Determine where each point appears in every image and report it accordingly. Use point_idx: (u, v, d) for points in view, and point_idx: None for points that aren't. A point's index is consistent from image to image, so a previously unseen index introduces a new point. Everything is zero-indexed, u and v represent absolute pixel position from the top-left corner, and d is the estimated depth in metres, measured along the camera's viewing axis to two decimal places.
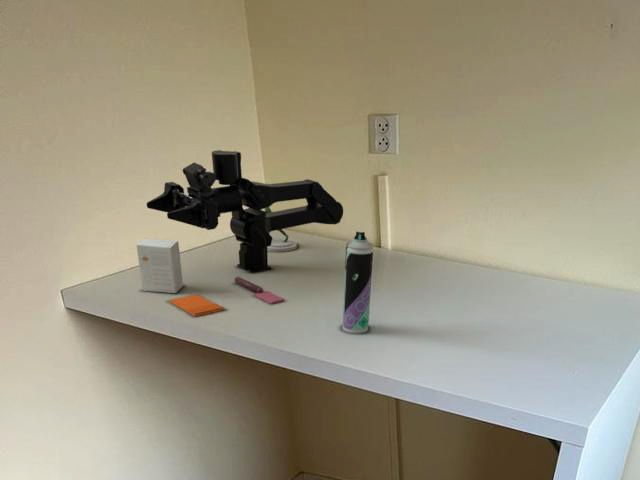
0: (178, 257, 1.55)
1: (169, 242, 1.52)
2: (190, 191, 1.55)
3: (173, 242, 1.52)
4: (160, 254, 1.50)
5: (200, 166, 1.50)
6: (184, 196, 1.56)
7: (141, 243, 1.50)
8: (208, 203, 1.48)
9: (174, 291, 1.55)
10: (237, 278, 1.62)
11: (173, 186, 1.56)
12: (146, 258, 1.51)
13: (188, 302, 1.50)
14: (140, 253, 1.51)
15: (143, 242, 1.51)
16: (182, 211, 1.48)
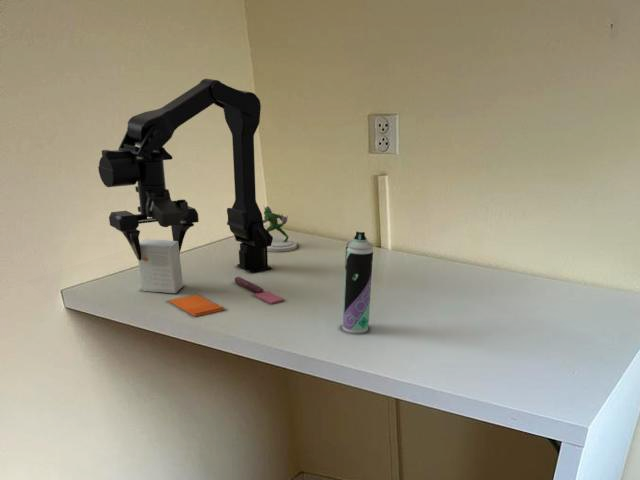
0: (178, 257, 1.54)
1: (169, 242, 1.52)
2: None
3: (173, 242, 1.52)
4: (160, 255, 1.50)
5: (180, 214, 1.43)
6: None
7: (141, 243, 1.50)
8: (198, 220, 1.53)
9: (174, 291, 1.55)
10: (237, 278, 1.62)
11: None
12: (145, 258, 1.51)
13: (188, 302, 1.50)
14: None
15: (143, 242, 1.51)
16: None
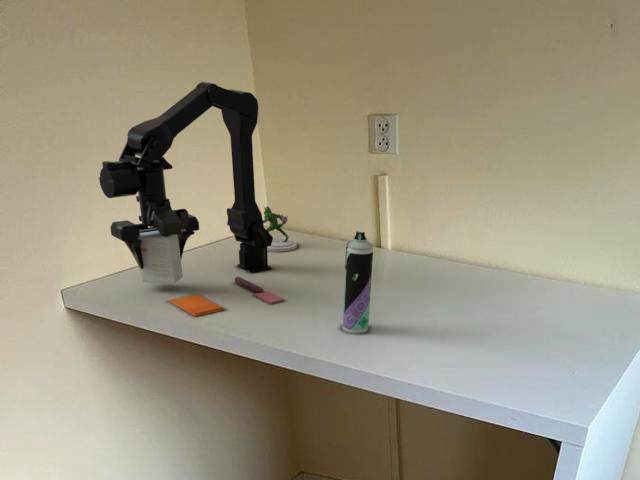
0: (177, 248, 1.53)
1: None
2: None
3: None
4: (159, 245, 1.49)
5: (180, 223, 1.44)
6: None
7: (140, 234, 1.49)
8: None
9: (173, 282, 1.54)
10: (237, 278, 1.62)
11: None
12: (144, 249, 1.50)
13: (188, 302, 1.50)
14: None
15: (142, 233, 1.50)
16: None
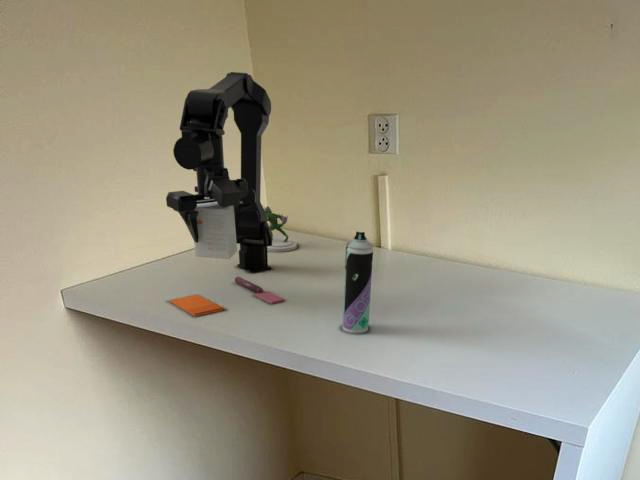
0: (233, 221, 1.47)
1: None
2: (212, 196, 1.40)
3: None
4: (215, 217, 1.43)
5: (240, 193, 1.38)
6: None
7: None
8: (255, 200, 1.47)
9: (228, 257, 1.47)
10: (237, 278, 1.62)
11: None
12: (200, 221, 1.44)
13: (188, 302, 1.50)
14: None
15: (197, 204, 1.44)
16: None
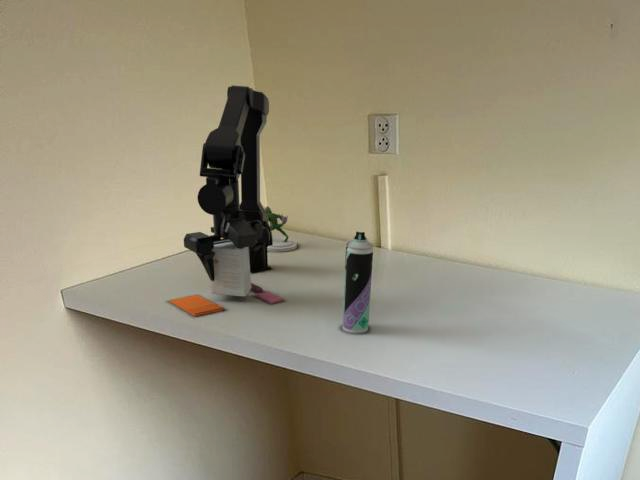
0: (248, 259, 1.51)
1: None
2: None
3: None
4: (231, 257, 1.47)
5: (255, 235, 1.42)
6: None
7: None
8: (269, 239, 1.51)
9: (243, 294, 1.51)
10: None
11: None
12: (216, 260, 1.48)
13: (188, 302, 1.50)
14: None
15: None
16: None
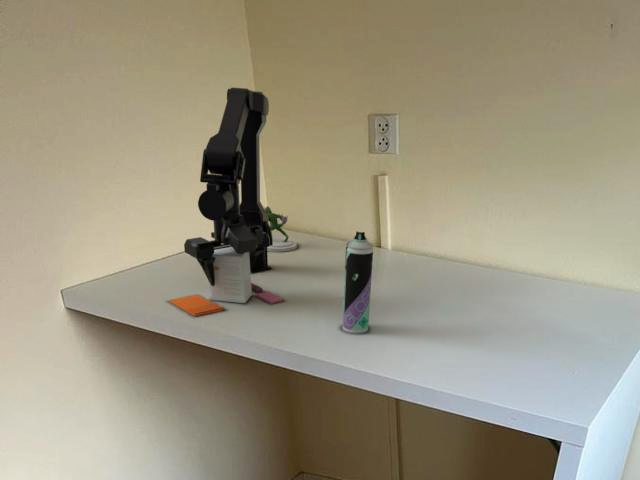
0: (248, 266, 1.52)
1: None
2: None
3: None
4: (232, 264, 1.48)
5: (256, 240, 1.43)
6: None
7: None
8: (269, 244, 1.52)
9: (243, 301, 1.52)
10: None
11: None
12: (216, 267, 1.48)
13: (188, 302, 1.50)
14: None
15: (214, 251, 1.48)
16: None
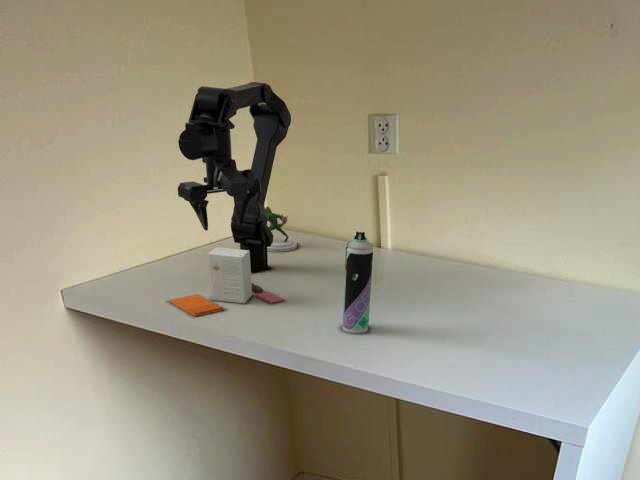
0: (249, 267, 1.52)
1: (241, 251, 1.49)
2: None
3: (245, 251, 1.50)
4: (232, 264, 1.48)
5: (247, 183, 1.47)
6: None
7: (213, 252, 1.48)
8: (261, 189, 1.56)
9: (243, 301, 1.52)
10: None
11: None
12: (217, 267, 1.49)
13: (188, 302, 1.50)
14: (211, 262, 1.48)
15: (215, 251, 1.49)
16: None
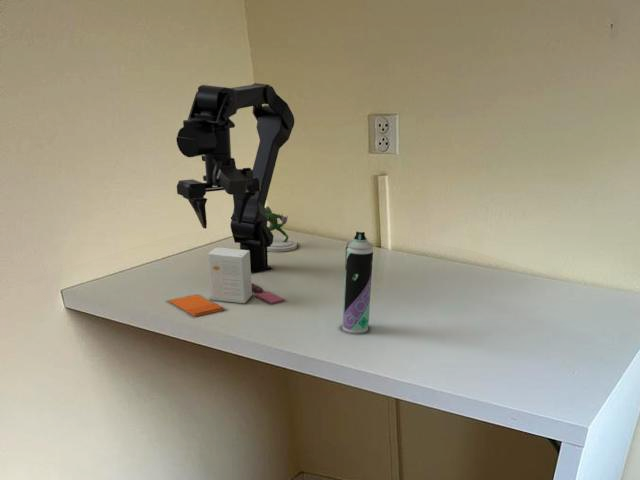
0: (249, 267, 1.52)
1: (241, 251, 1.49)
2: (220, 184, 1.49)
3: (245, 251, 1.50)
4: (232, 264, 1.48)
5: (246, 181, 1.47)
6: None
7: (213, 252, 1.48)
8: (260, 189, 1.56)
9: (243, 301, 1.52)
10: None
11: None
12: (217, 267, 1.49)
13: (188, 302, 1.50)
14: (211, 262, 1.48)
15: (215, 251, 1.49)
16: None
